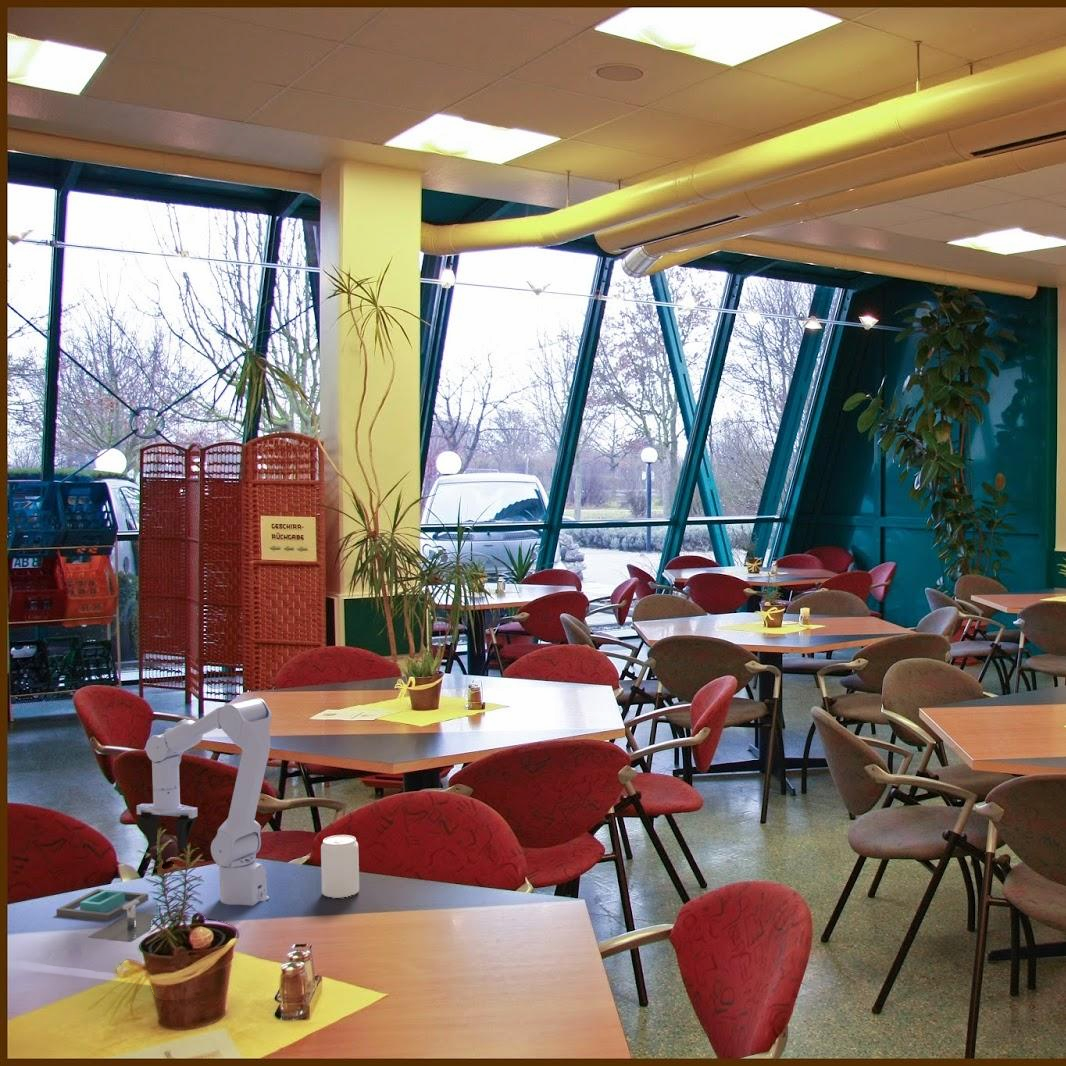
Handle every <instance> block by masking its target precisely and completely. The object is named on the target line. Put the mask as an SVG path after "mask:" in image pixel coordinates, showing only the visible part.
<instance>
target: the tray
mask: <svg viewBox="0 0 1066 1066" xmlns="http://www.w3.org/2000/svg"><path fill="white" fill-rule="evenodd" d="M104 890H105V889H102V888H97V889H95V890H93V891H91V892H89V893H86V894H85V895H83V896H81V897H78V898H76V899H75V900H72V901H70V902H69V903H67V904H65V905H63V906H60V907H59V908H57V909H56V911H55V912H56V916H58V917H68V918H78V919H86V920H94V921H96V920H97V921H105V922H110V921H112V920H114V919H116V918H118V917H120V916H121V915H123V914H125V913H127V910H126V909H123V906H124V905H126V904H128V903H129V902H131V901H133V900H139V903H138V904H136V905H135V908H136V907H138V906H141V904H144V903H146V902H147V901H149V893H141V892H134V891H133V892H131V891H122V890H121V892H125V900H128V902H125V903H123V904H121V906H120V905H119V906H117V907H116V908H114V909H112V910H110V911H108V912H106V913H104V912H94V911H85V910H80V909H78V908H79V907H80V902H82V901H84V900H86V899H88V898H90V897H92V896H94V895H96V894H98V893H100V892H102V891H104ZM112 891H114V890H113V889H112ZM129 900H130V901H129Z"/></svg>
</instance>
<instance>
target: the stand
mask: <svg viewBox="0 0 1066 1066" xmlns="http://www.w3.org/2000/svg"><path fill="white" fill-rule="evenodd" d="M130 901H131V902H130ZM130 901H128V902H129V903H128V902H127V903H128V904H126V903H125V904H126V905H124V904H123V905H124V906H123V909H126V910H127V912H126V915H125V916H123V917H122V918H119V919H117V920H116V921H114V922H112V923H110V924H108V925H107V926H104V927H103V928H101V929H99V930H97V931H96V932H94V933H92V934H91V935H89V936H87V938H90V939H91V938H93V939H99V940H111V941H119V942H126V943H132V942H133V941H136V940H137V939H139V938H140V937H142V936H144V935H145V934H147V933H149V932H150V931H151V930H150V929H151V927H152V926H151V920H152V919H153V918H158V915H159V914H153V913H152V914H151V913H145V912H144V913H143V912H142V913H141V912H136V907H135V905H136V904H138V903H139V900H133V901H132V900H130ZM155 916H157V917H155Z"/></svg>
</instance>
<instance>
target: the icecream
mask: <svg viewBox="0 0 1066 1066" xmlns="http://www.w3.org/2000/svg"><path fill="white" fill-rule="evenodd" d="M169 839H173V840H174V843H171V844H170V845H168V846H167V847H166V848H165V849H164V851H163V854H162V859H163V863H164V864H166V863H167V862H166V860H167V859H168V858H170V857H176V858H177V857H178V856H179V855H180V850H179V849H178V838H177V836H176V835H172V834H163V837H162V839H161V844H164V843H165V842H167V841H168V840H169ZM148 851H149V852H148V853H149V858H151V860H152V861H154V862H155V863H154V869H155V870H156V862H157V846H154V847H152V848H151V847H149V850H148Z"/></svg>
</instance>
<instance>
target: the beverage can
mask: <svg viewBox="0 0 1066 1066" xmlns="http://www.w3.org/2000/svg"><path fill="white" fill-rule="evenodd" d="M359 855H360V854H359V843H358V841H357V838H356V837H355V836H353V835H349V834H336V835H331V836H327V837H325V838H324V839H323V840H322V844H321V845H320V860H321V862H320V863H321V864H320V867H321V869H320V870H321V871H320V872H321V873H320V874H321V894H322V895H323V896H325V897H328V898H329V897H333V898H332V899H335V898H341V897H347V898H349V897H348V896H350V897H352V896H351V895H353V896H354V895H356V894H357V893H358V892H359V891H360V865H359V864H360V862H359V861H360V860H359ZM341 899H342V898H341Z"/></svg>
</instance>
